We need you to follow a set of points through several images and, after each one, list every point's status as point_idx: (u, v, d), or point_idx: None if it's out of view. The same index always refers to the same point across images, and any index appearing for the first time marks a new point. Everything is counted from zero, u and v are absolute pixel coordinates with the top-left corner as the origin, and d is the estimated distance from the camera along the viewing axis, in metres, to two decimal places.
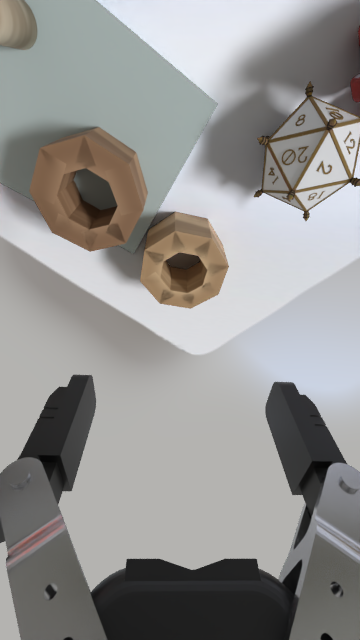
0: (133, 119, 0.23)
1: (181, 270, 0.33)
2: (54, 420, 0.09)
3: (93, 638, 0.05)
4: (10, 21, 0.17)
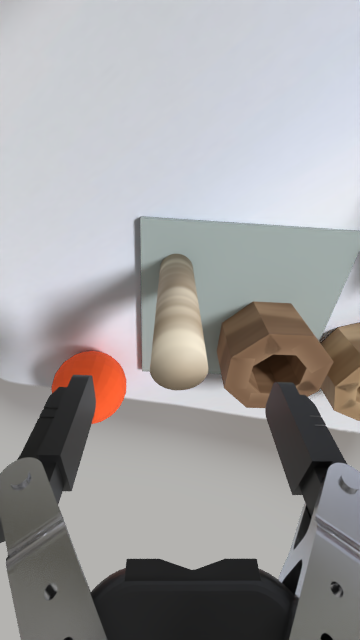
0: (284, 282, 0.24)
1: None
2: (54, 420, 0.09)
3: (93, 638, 0.05)
4: (196, 290, 0.19)
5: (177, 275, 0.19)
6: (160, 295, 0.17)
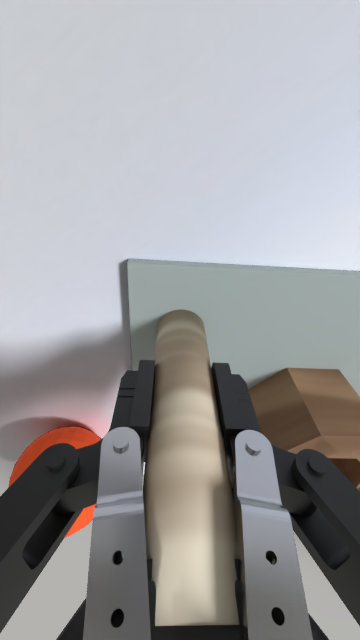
0: (331, 344, 0.17)
1: None
2: (135, 397, 0.10)
3: (93, 638, 0.05)
4: (212, 377, 0.13)
5: (183, 358, 0.12)
6: (156, 402, 0.11)
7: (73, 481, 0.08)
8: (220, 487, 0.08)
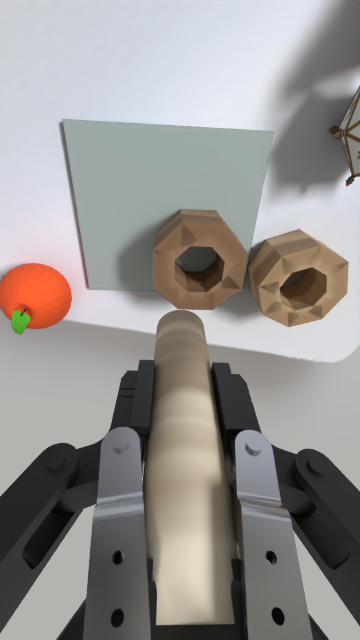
0: (205, 187, 0.26)
1: (292, 287, 0.32)
2: (135, 397, 0.10)
3: (93, 638, 0.05)
4: (211, 378, 0.13)
5: (182, 358, 0.12)
6: (155, 403, 0.11)
7: (73, 481, 0.08)
8: (219, 487, 0.08)
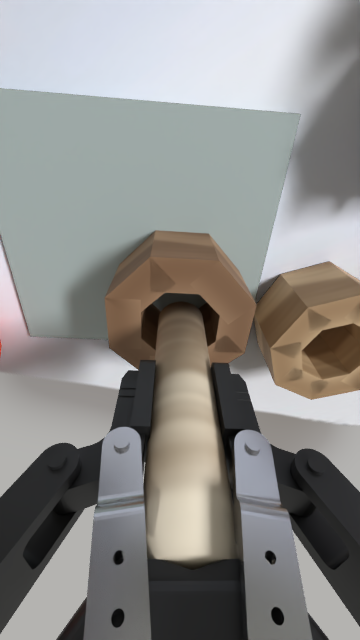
0: (192, 198, 0.17)
1: (313, 338, 0.23)
2: (136, 397, 0.10)
3: (93, 638, 0.05)
4: None
5: (182, 344, 0.13)
6: (157, 383, 0.11)
7: (74, 481, 0.08)
8: (215, 453, 0.09)
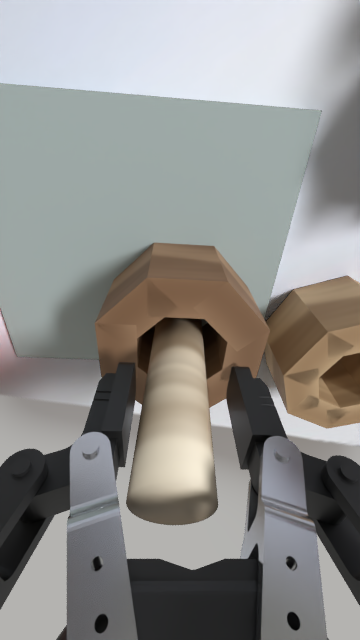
0: (196, 207, 0.15)
1: None
2: (110, 401, 0.10)
3: (93, 638, 0.05)
4: None
5: (178, 325, 0.14)
6: (153, 357, 0.13)
7: (39, 488, 0.08)
8: (199, 412, 0.10)
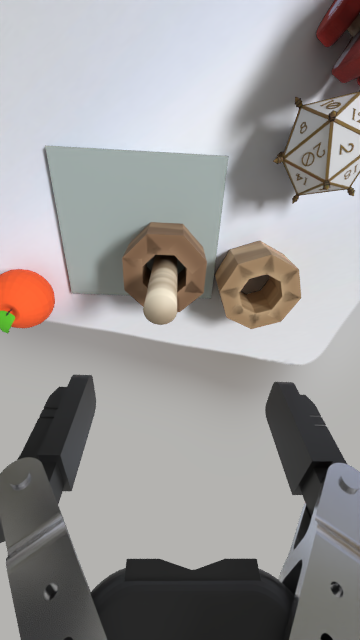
0: (172, 203, 0.29)
1: (256, 293, 0.35)
2: (54, 420, 0.09)
3: (93, 638, 0.05)
4: None
5: (163, 261, 0.28)
6: (152, 273, 0.27)
7: None
8: (171, 285, 0.24)
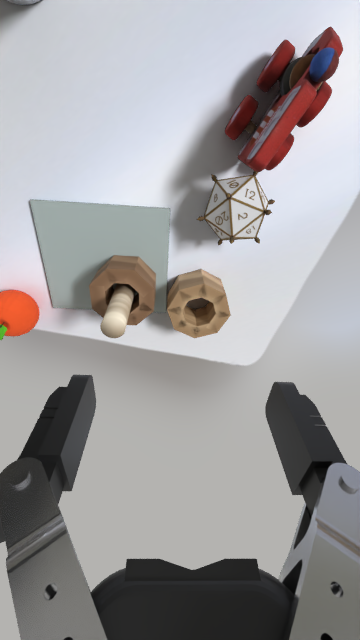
0: (129, 241, 0.38)
1: (202, 309, 0.44)
2: (54, 420, 0.09)
3: (93, 638, 0.05)
4: (132, 294, 0.38)
5: (122, 287, 0.37)
6: None
7: None
8: (123, 308, 0.33)
